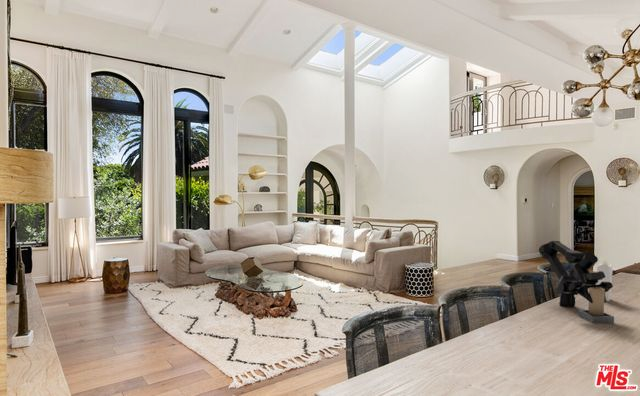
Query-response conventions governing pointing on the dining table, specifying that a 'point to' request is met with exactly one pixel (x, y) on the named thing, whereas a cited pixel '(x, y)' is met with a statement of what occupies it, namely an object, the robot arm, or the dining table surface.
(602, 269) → the milk
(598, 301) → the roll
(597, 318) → the tray
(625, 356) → the dining table surface
